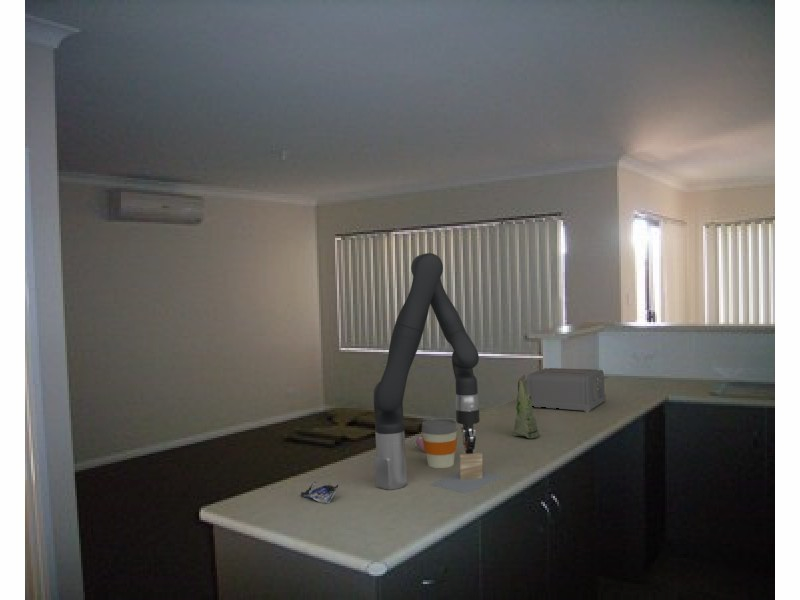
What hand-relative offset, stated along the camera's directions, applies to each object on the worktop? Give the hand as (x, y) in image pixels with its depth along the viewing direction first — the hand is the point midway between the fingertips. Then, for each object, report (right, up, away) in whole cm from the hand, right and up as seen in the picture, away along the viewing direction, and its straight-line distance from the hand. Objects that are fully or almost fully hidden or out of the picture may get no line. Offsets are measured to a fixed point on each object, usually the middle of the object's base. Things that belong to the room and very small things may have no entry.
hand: (469, 461), depth 195 cm
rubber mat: (-1, -6, -4) cm, 7 cm away
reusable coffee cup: (-8, -6, +16) cm, 19 cm away
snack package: (-47, -8, -13) cm, 49 cm away
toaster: (+65, -2, +115) cm, 132 cm away
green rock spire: (+29, -4, +52) cm, 60 cm away
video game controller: (-12, -6, +38) cm, 41 cm away
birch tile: (0, -5, -1) cm, 5 cm away
